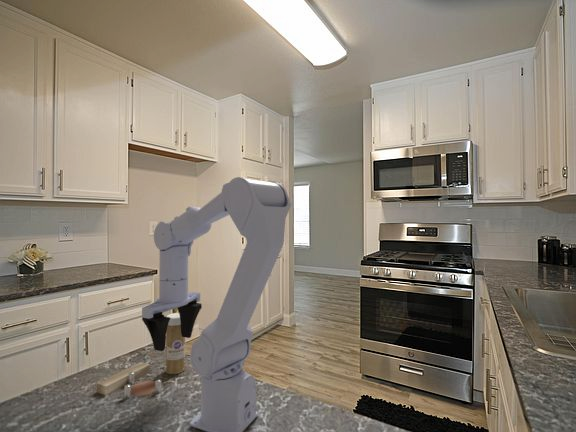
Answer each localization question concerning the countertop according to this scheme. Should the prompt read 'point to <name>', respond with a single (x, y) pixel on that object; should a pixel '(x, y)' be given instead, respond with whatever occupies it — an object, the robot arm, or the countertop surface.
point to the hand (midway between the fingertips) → (173, 343)
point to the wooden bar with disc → (122, 380)
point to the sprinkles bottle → (174, 346)
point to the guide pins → (131, 381)
